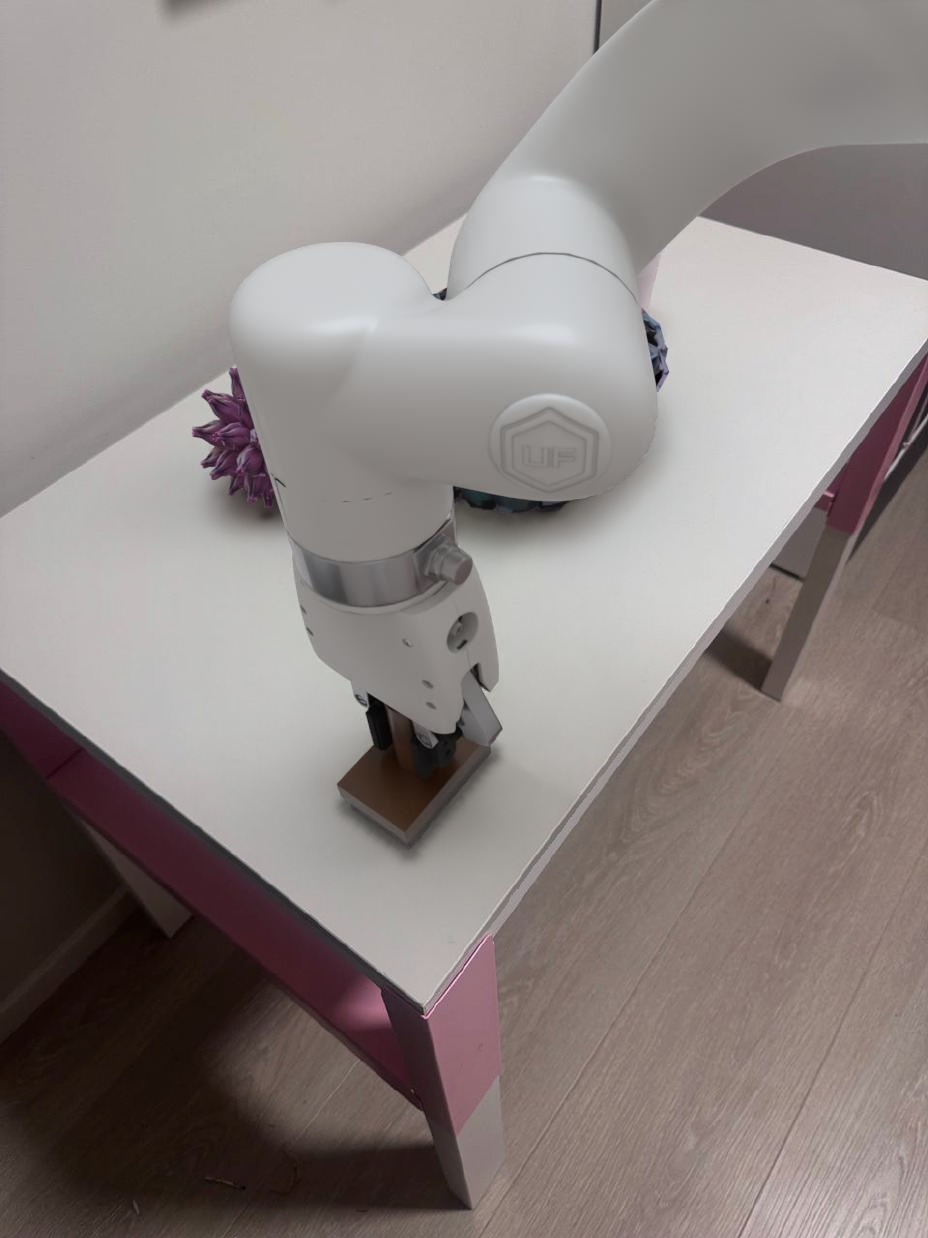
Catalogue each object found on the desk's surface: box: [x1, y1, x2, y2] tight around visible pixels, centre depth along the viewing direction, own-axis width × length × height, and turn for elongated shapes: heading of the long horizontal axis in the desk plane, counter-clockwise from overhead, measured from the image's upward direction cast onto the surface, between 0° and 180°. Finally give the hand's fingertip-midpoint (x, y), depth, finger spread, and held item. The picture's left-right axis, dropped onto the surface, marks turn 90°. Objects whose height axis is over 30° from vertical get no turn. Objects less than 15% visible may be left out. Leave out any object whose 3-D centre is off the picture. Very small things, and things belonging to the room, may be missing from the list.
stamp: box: [336, 703, 497, 849], centre depth 53 cm, size 9×6×10 cm, turn 143°
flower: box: [191, 367, 276, 508], centre depth 72 cm, size 12×12×12 cm
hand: (415, 744), depth 54 cm, fingers closed on stamp, 2 cm apart
